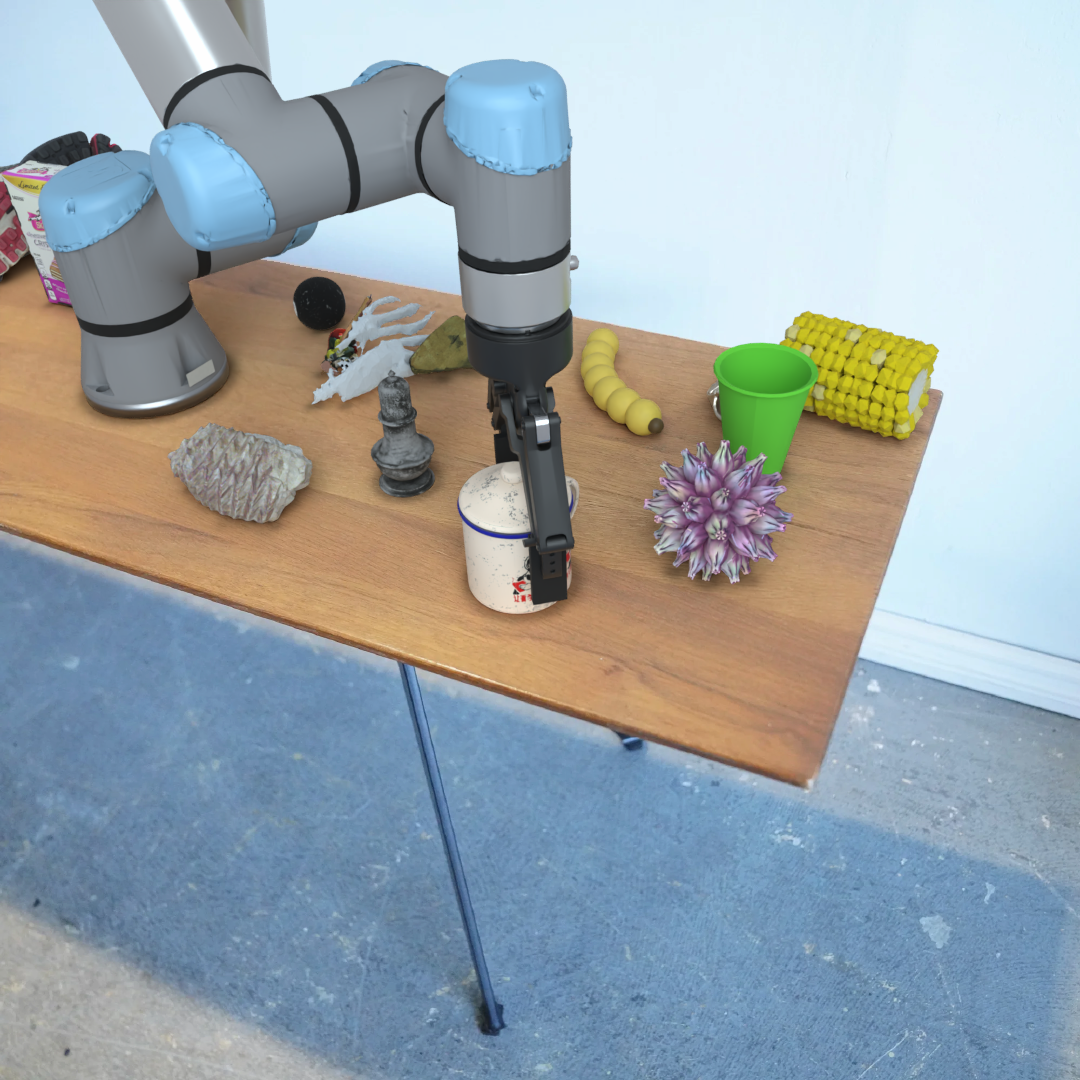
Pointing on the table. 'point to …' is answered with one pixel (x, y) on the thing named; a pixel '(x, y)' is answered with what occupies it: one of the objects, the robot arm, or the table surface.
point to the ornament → (715, 399)
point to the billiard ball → (319, 303)
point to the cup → (763, 398)
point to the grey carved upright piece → (401, 442)
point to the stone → (442, 349)
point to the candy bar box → (36, 222)
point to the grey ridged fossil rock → (240, 472)
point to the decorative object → (375, 351)
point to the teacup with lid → (501, 537)
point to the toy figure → (336, 338)
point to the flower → (718, 511)
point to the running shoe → (3, 233)
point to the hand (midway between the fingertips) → (530, 544)
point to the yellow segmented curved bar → (616, 386)
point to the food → (864, 373)
